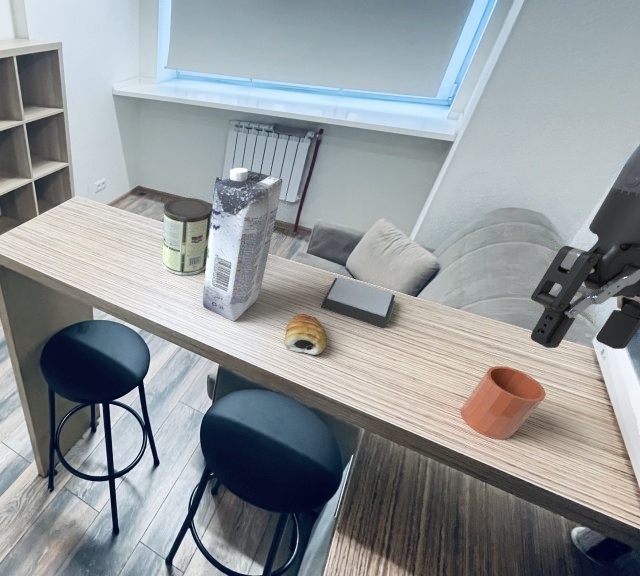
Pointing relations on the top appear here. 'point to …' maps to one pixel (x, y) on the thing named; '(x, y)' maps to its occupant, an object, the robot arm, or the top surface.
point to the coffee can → (186, 235)
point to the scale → (359, 301)
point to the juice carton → (239, 240)
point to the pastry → (305, 335)
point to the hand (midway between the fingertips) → (575, 344)
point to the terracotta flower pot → (502, 402)
